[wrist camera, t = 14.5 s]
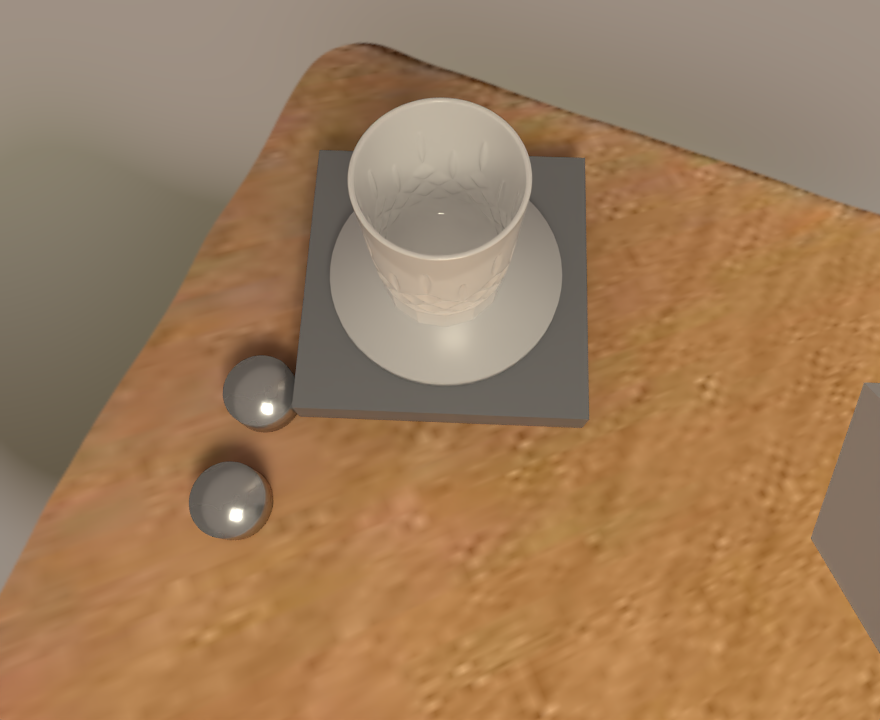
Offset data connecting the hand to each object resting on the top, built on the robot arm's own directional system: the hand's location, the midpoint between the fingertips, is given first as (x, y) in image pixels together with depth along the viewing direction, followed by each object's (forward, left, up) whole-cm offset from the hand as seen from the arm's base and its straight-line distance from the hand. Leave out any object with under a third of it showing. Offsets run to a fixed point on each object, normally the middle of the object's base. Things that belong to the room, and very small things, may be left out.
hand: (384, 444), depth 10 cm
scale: (0, -15, -30) cm, 33 cm away
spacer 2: (+11, -2, -30) cm, 32 cm away
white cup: (0, -15, -27) cm, 31 cm away
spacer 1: (+10, -8, -30) cm, 32 cm away
